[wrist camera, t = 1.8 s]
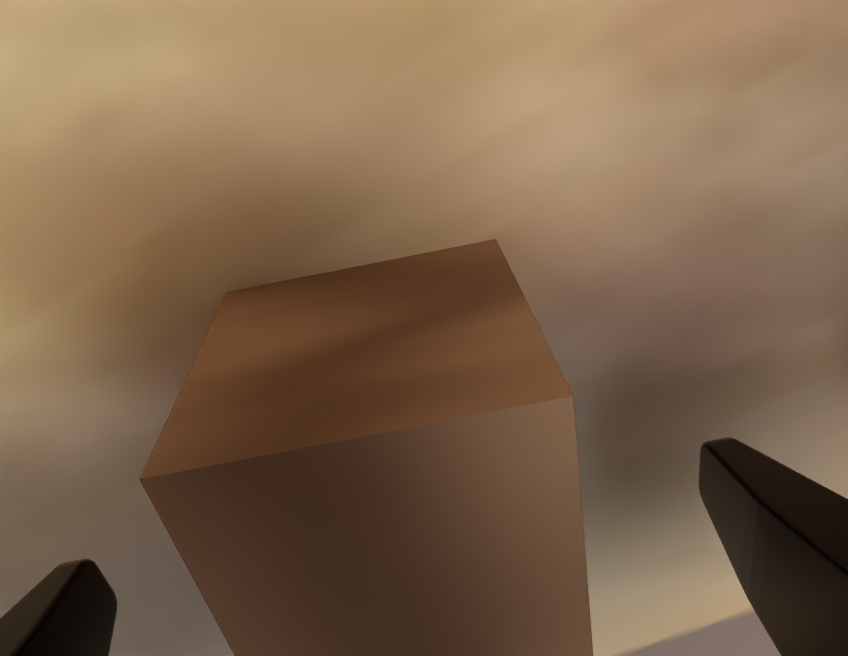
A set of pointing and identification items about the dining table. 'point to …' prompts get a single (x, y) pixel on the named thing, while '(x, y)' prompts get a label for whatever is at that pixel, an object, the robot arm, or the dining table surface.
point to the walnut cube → (380, 467)
